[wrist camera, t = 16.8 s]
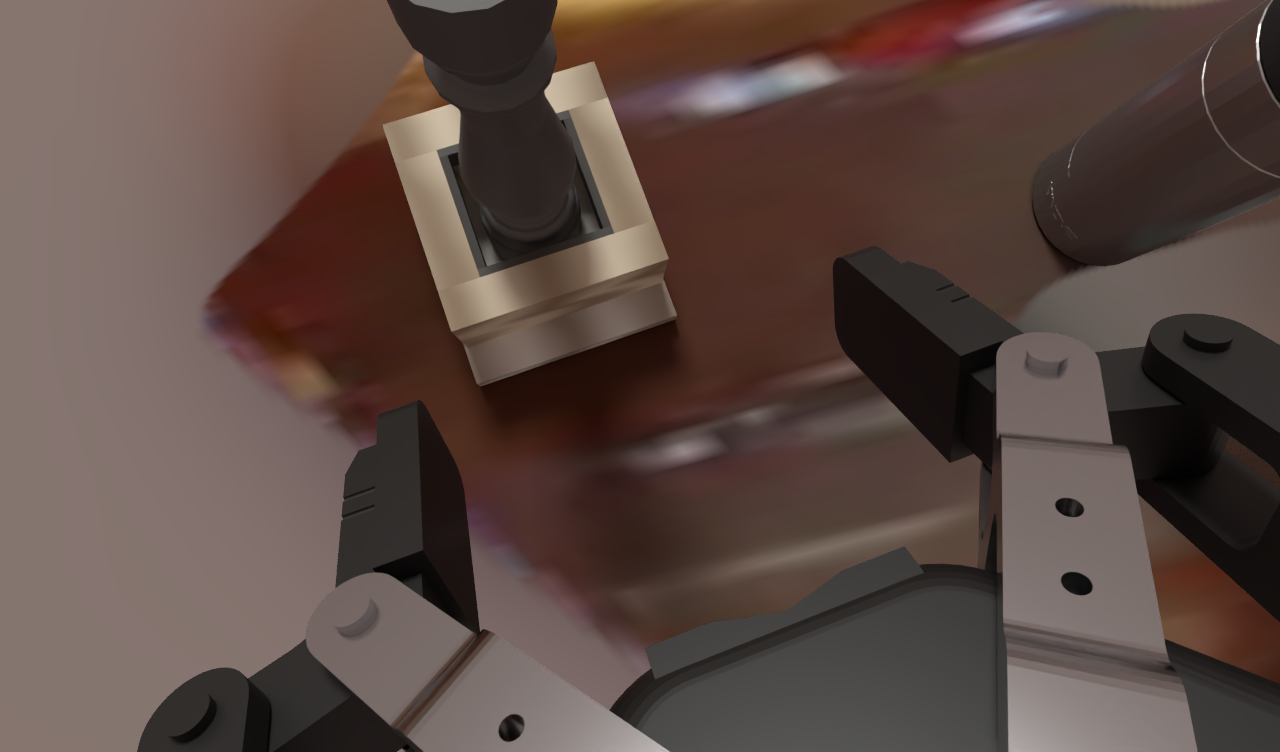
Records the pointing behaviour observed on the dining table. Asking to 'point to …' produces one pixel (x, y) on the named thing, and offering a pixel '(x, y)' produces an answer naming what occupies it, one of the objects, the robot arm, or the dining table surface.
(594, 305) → the socket
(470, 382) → the dining table surface
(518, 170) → the candle holder
